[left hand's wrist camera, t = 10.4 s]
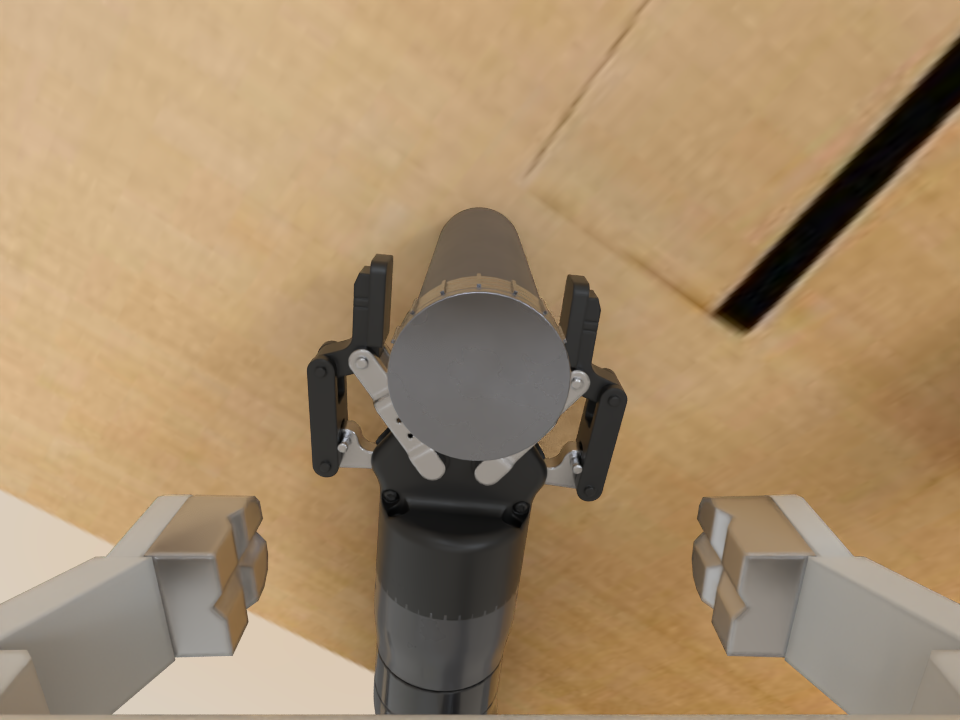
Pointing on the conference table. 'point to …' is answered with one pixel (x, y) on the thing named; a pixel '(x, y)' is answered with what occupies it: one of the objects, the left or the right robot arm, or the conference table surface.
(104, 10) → the conference table surface
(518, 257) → the grey tall cylinder
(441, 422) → the lid
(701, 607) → the conference table surface
